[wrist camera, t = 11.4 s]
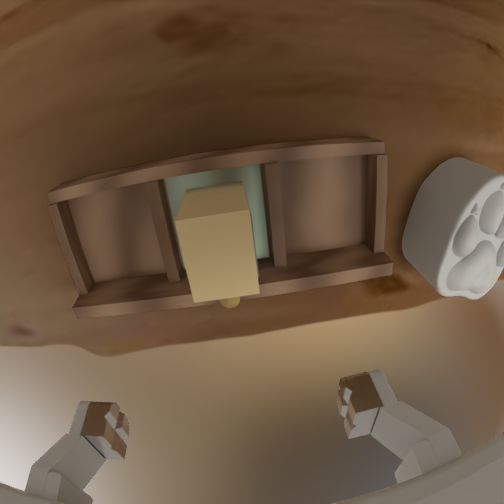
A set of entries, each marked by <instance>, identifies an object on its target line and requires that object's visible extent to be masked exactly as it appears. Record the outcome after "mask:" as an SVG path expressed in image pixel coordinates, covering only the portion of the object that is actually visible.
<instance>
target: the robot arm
mask: <svg viewBox="0 0 504 504" xmlns="http://www.w3.org/2000/svg"><path fill="white" fill-rule="evenodd" d="M339 387H340V390H339V391H338V394H337V401H338V407H339V411H340V414H341V415H342V416H343V417H345V422H344V426H345V429H346V432H347V435H348V438H349V439H350V438H354V437H358V436H363V435H366V434H370V433H371V435H372V436H373V437H374V438H376V439H377V440H378V441H379V442H380V443H382V444H383V445H384V446H385V447H387V448H388V449H389V450H391V451H392V452H393V453H394V454H396V455H397V456H398V457H399V458H401V459H402V460H403V462H402V463H401V464H400V466H399V468H398V469H397V470H396V472H395V477H396V480H397V483H398V484H396V485H393V486H390V487H387V488H385V489H381V490H378V491H375V492H372V493H369V494H365V495H362V496H358V497H355V498H351V499H348V500H344V501H340V502H336V503H332V504H504V432H503V433H501V434H500V435H498V436H497V437H495V438H493V439H492V440H490V441H488V442H486V443H485V444H483V445H481V446H479V447H478V448H476V449H474V450H472V451H470V452H468V453H467V454H465V455H462V453H461V451H460V449H459V447H458V445H457V443H456V441H455V439H454V437H453V436H452V433H451V432H450V430H449V428H447V427H445V426H443V425H442V424H440V423H438V422H437V421H435V420H433V419H431V418H430V417H428V416H426V415H424V414H423V413H421V412H419V411H418V410H416V409H414V408H412V407H411V406H409V405H407V404H406V403H404V402H402V401H399V402H398V401H397V399H396V397H395V395H394V393H393V391H392V389H391V387H390V385H389V383H388V381H387V379H386V377H385V375H384V373H383V372H382V370H381V369H376V370H373V371H369V372H363V373H360V374H356V375H352V376H348V377H344V378H340V380H339ZM119 409H120V407H119V406H118V405H117V403H110V402H91V401H90V402H89V401H81V402H80V403H79V404H78V406H77V409H76V412H75V415H74V419H73V422H72V425H71V428H70V432H69V434H65V435H64V436H63V437H62V438H61V439H60V440H59V441H58V442H57V443H56V444H55V445H54V446H52V447H51V448H50V449H49V450H48V451H47V452H46V453H45V454H44V455H43V456H42V457H41V458H40V459H39V460H38V461H36V462H35V463H34V464H33V465H32V467H31V471H30V474H29V478H28V482H27V485H26V489H25V491H22V490H19V489H16V488H14V487H11V486H8V485H5V484H3V483H0V504H92V502H93V499H92V498H91V496H89V495H88V494H86V493H85V492H84V491H82V490H83V489H84V488H85V486H86V485H87V484H88V483H89V481H90V480H91V479H92V477H93V476H94V475H95V474H96V472H97V471H98V470H99V468H100V467H101V466H102V464H103V463H104V462H105V460H106V459H119V460H120V459H121V460H124V459H125V454H126V448H127V445H126V443H125V442H124V440H125V439H126V438H127V437H128V436H129V422H128V419H127V417H126V416H125V414H123V413H121V412H119Z"/></svg>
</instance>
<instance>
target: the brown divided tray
mask: <svg viewBox="0 0 504 504" xmlns="http://www.w3.org/2000/svg"><path fill="white" fill-rule="evenodd" d="M387 167H388V155H387V154H385V142H383V141H380V140H377V139H374V138H371V137H353V138H333V139H318V140H305V141H293V142H282V143H273V144H263V145H255V146H247V147H239V148H231V149H224V150H217V151H211V152H204V153H198V154H192V155H186V156H181V157H175V158H170V159H164V160H159V161H154V162H149V163H144V164H139V165H135V166H130V167H126V168H121V169H117V170H112V171H108V172H104V173H100V174H96V175H92V176H88V177H84V178H80V179H77V180H73V181H69V182H66V183H62V184H60V185H59V186H57V187H56V188H54V189H53V190H51V191H50V192H48V193H47V195H48V199H49V202H50V205H48V210H49V213H50V216H51V219H52V223H53V226H54V229H55V232H56V235H57V238H58V241H59V243H60V246H61V249H62V252H63V255H64V257H65V260H66V263H67V265H68V268H69V271H70V273H71V276H72V278H73V281H74V283H75V285H76V288H77V290H78V293H79V297H78V299H77V301H76V302H75V304H74V306H73V310H74V313H75V315H76V317H77V319H79V318H91V317H102V316H112V315H123V314H132V313H142V312H151V311H160V310H168V309H177V308H185V307H193V306H201V305H208V304H216V303H220V304H221V305H222V306H224V307H226V308H233V307H235V306H237V305H238V304H239V302H240V300H245V299H252V298H258V297H265V296H272V295H278V294H284V293H291V292H297V291H303V290H309V289H315V288H321V287H327V286H333V285H338V284H344V283H349V282H355V281H360V280H366V279H371V278H376V277H382V276H387V275H392V269H393V262H392V261H391V260H390V258H389V257H388V256H387V255H386V254H385V253H384V252H383V251H384V238H385V224H386V205H387ZM238 181H242V184H243V187H244V191H245V194H246V197H247V201H248V204H249V208H250V212H251V215H252V222H253V230H254V238H255V247H256V255H257V263H258V272H259V277H258V283H259V291H260V294H254V295H247V296H240V297H233V298H226V299H219V300H211V301H204V302H196V303H194V300H193V296H192V292H191V288H190V284H189V280H188V276H187V272H186V268H185V264H184V260H183V255H182V251H181V247H180V242H179V238H178V234H177V229H176V225H175V219H176V216H177V213H178V210H179V207H180V205H181V202H182V199H183V196H184V193H185V191H186V189H191V188H198V187H204V186H210V185H217V184H224V183H231V182H238Z"/></svg>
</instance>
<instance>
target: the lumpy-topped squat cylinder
mask: <svg viewBox="0 0 504 504" xmlns="http://www.w3.org/2000/svg"><path fill="white" fill-rule="evenodd" d="M402 252H403V255H404V257H405V258H406V259H407V260H408V261H409V263H410V264H411V265H412V266H413V267H414V268H415V269H416V270H417V271H418V272H419V273H420V274H421V275H422V276H423V277H424V278H425V279H426V280H427V281H428V282H429V283H430V284H431V285H432V286H433V287H434V288H435V289H436V290H437V291H438V293H440V294H441V295H443V296H464V297H466V298H469V299H478V298H480V297H482V296H483V295H484V294H486V293H487V292H488V291H489V290H490V288H491V287H492V286H493V285H494V284H495V282H496V281H497V279H498V277H499V275H500V274H501V272H502V270H503V268H504V174H502V173H499V172H497V171H495V170H492V169H490V168H488V167H486V166H483V165H481V164H478V163H476V162H473V161H470V160H468V159H465V158H462V157H454V158H451V159H449V160H447V161H445V162H443V163H441V164H440V165H439V166H438V167H437V168H436V169H435V170H434V171H433V172H432V173H431V174H430V175H429V176H428V177H427V178H426V179H425V181H424V182H423V183H422V185H421V186H420V188H419V190H418V192H417V195H416V197H415V200H414V202H413V205H412V208H411V210H410V213H409V216H408V219H407V223H406V226H405V230H404V233H403V237H402Z"/></svg>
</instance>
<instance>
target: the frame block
mask: <svg viewBox="0 0 504 504" xmlns="http://www.w3.org/2000/svg"><path fill="white" fill-rule="evenodd" d="M175 225H176V229H177V234H178V238H179V242H180V247H181V251H182V255H183V260H184V264H185V268H186V272H187V276H188V280H189V284H190V288H191V292H192V296H193V300H194V303H196V302H204V301H211V300H219V299H226V298H233V297H240V296H247V295H254V294H260V291H259V283H258V277H259V272H258V263H257V255H256V247H255V238H254V230H253V222H252V215H251V212H250V208H249V204H248V201H247V197H246V194H245V191H244V187H243V184H242V181H238V182H231V183H224V184H217V185H210V186H204V187H198V188H191V189H186V191H185V193H184V196H183V199H182V202H181V205H180V207H179V210H178V213H177V216H176V219H175Z"/></svg>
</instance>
